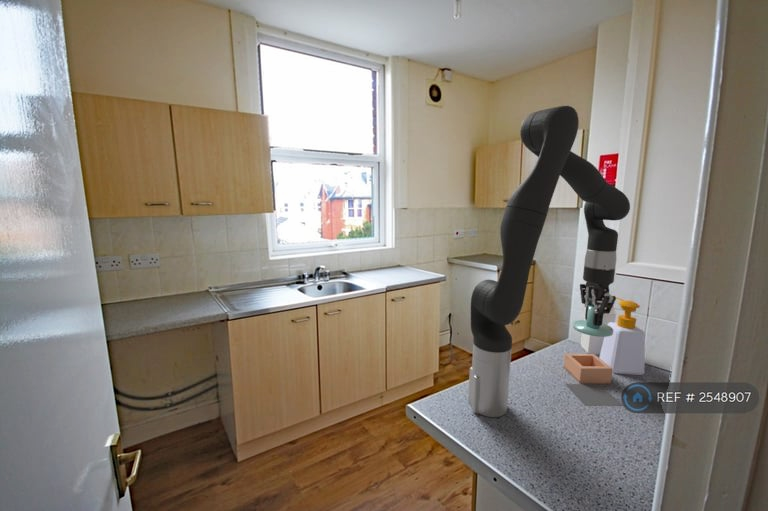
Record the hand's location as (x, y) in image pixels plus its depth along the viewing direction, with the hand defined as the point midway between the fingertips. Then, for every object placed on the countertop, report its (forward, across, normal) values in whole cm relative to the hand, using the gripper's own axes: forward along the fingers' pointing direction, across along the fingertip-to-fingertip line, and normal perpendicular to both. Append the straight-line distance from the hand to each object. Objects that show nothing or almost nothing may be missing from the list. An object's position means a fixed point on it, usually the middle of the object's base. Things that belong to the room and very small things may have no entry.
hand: (593, 322), depth 99 cm
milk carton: (+18, -17, +13) cm, 28 cm away
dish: (+17, 0, 0) cm, 17 cm away
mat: (+17, +10, -4) cm, 20 cm away
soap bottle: (+18, -7, +14) cm, 23 cm away
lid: (+2, 0, 0) cm, 2 cm away
